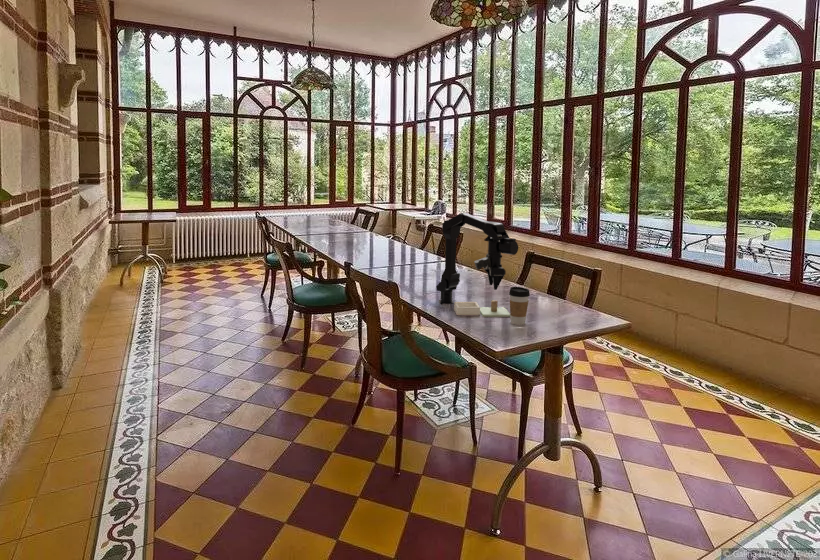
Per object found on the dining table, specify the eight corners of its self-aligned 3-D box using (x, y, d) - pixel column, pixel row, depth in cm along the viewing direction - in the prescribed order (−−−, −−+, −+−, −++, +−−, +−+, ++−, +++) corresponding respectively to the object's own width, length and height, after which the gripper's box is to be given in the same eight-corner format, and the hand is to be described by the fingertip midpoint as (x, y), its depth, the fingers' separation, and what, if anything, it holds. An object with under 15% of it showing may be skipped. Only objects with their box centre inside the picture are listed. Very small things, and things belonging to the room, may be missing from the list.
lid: (478, 309, 242) (478, 297, 241) (504, 309, 243) (504, 297, 242) (482, 316, 231) (483, 304, 230) (510, 316, 231) (511, 304, 230)
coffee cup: (515, 319, 228) (516, 285, 225) (532, 323, 223) (534, 288, 219) (503, 323, 223) (505, 288, 220) (520, 327, 217) (522, 291, 214)
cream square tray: (454, 310, 242) (454, 301, 241) (475, 310, 242) (476, 301, 242) (457, 316, 232) (457, 307, 231) (479, 316, 233) (480, 307, 232)
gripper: (472, 248, 239) (471, 283, 242) (480, 255, 221) (478, 292, 224) (496, 249, 240) (495, 282, 243) (506, 255, 222) (504, 292, 225)
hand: (493, 287), depth 234 cm, fingers open, 9 cm apart
